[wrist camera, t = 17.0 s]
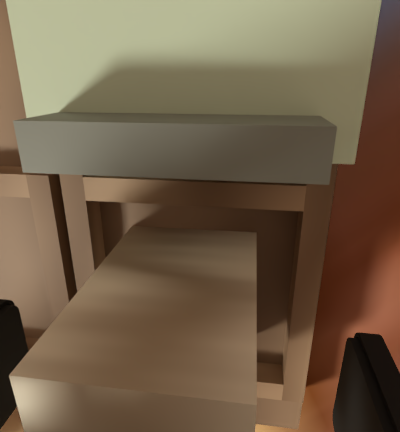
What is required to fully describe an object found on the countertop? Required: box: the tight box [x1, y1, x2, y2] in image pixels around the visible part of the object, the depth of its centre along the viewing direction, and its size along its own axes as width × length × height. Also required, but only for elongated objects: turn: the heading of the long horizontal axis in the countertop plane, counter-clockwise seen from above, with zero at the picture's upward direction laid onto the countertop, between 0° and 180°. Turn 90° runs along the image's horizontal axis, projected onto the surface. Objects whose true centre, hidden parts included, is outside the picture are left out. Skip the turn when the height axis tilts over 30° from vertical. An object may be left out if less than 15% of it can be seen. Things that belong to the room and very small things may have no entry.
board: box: [0, 0, 338, 429], centre depth 13 cm, size 18×20×3 cm
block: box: [9, 226, 257, 432], centre depth 10 cm, size 4×4×7 cm
